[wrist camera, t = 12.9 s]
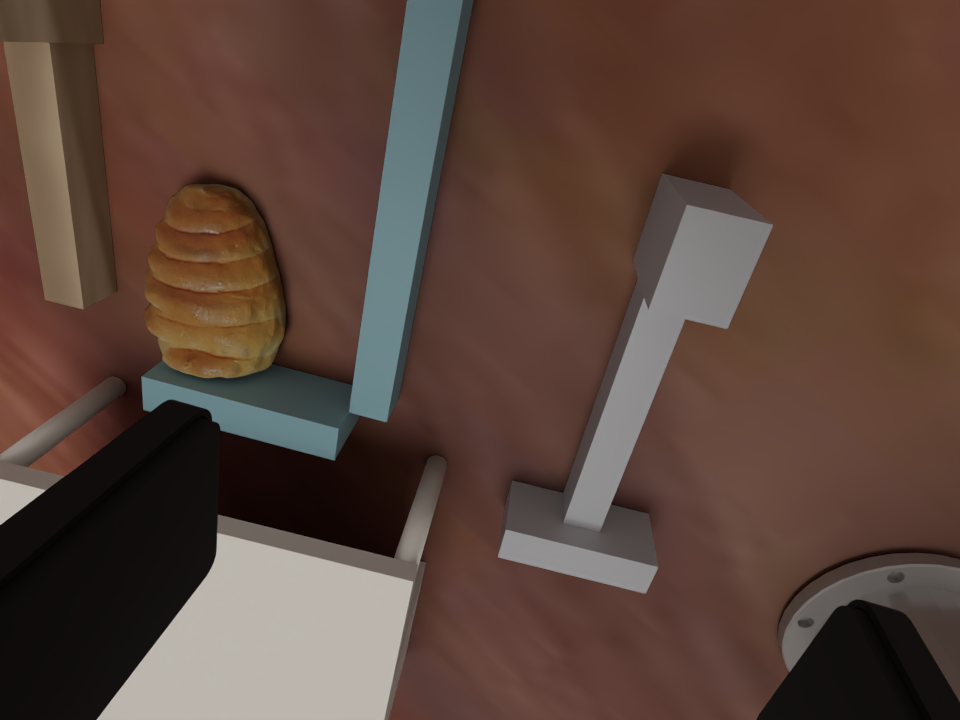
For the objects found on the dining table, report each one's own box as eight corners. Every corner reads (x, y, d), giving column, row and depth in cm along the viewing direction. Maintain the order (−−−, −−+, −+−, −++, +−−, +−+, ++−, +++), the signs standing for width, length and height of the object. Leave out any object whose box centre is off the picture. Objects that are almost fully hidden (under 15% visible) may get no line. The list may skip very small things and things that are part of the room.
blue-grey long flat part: (517, -156, 21) (500, -226, 16) (402, 429, 33) (370, 499, 28) (179, -241, 21) (51, -338, 16) (187, 372, 34) (116, 432, 28)
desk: (449, 458, 34) (413, 581, 26) (406, 653, 42) (369, 792, 34) (105, 374, 34) (-34, 470, 26) (129, 583, 43) (30, 705, 35)
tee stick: (787, 202, 25) (846, 241, 20) (637, 539, 35) (650, 625, 30) (605, 160, 26) (615, 188, 20) (504, 506, 35) (493, 586, 30)
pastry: (157, 167, 29) (103, 182, 25) (293, 192, 28) (257, 211, 25) (175, 341, 33) (131, 373, 30) (293, 364, 33) (262, 399, 29)
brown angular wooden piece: (93, -66, 24) (-39, -99, 19) (126, 293, 32) (37, 341, 26) (23, -82, 24) (-129, -120, 19) (72, 280, 32) (-27, 326, 27)
